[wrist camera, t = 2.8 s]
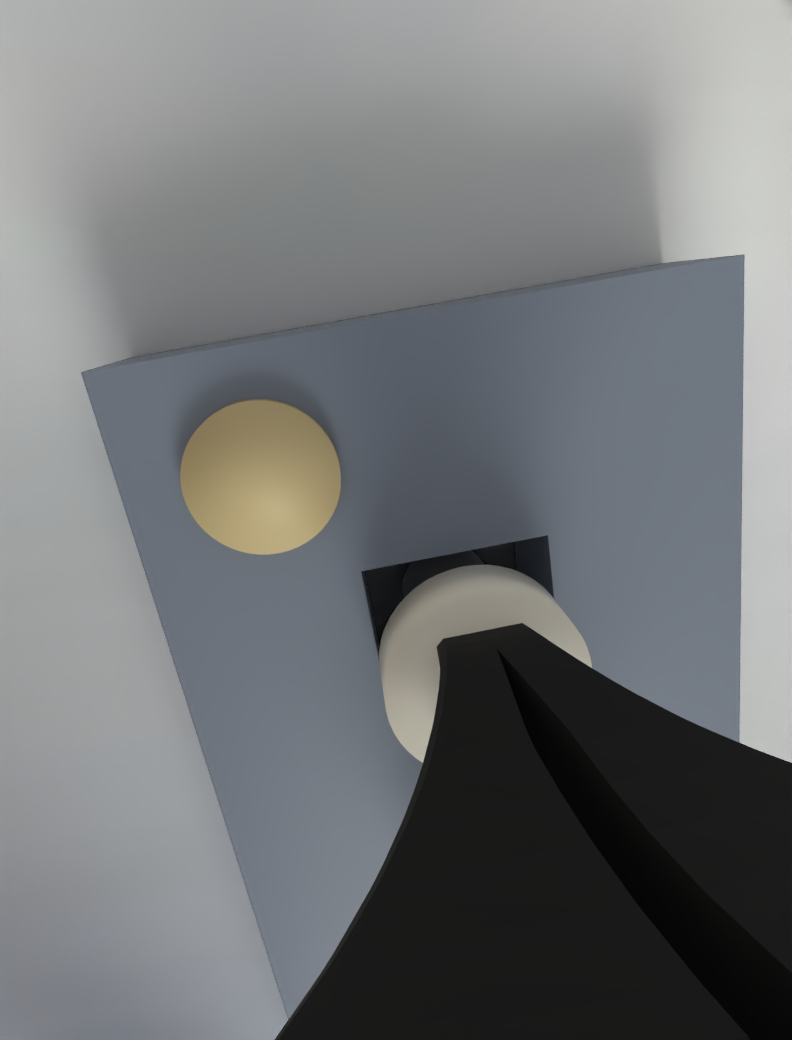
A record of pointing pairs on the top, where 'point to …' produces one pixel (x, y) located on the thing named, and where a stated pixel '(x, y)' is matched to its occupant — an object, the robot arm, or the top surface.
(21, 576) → the top surface
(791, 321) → the top surface
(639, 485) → the console
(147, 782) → the top surface
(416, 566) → the knob
